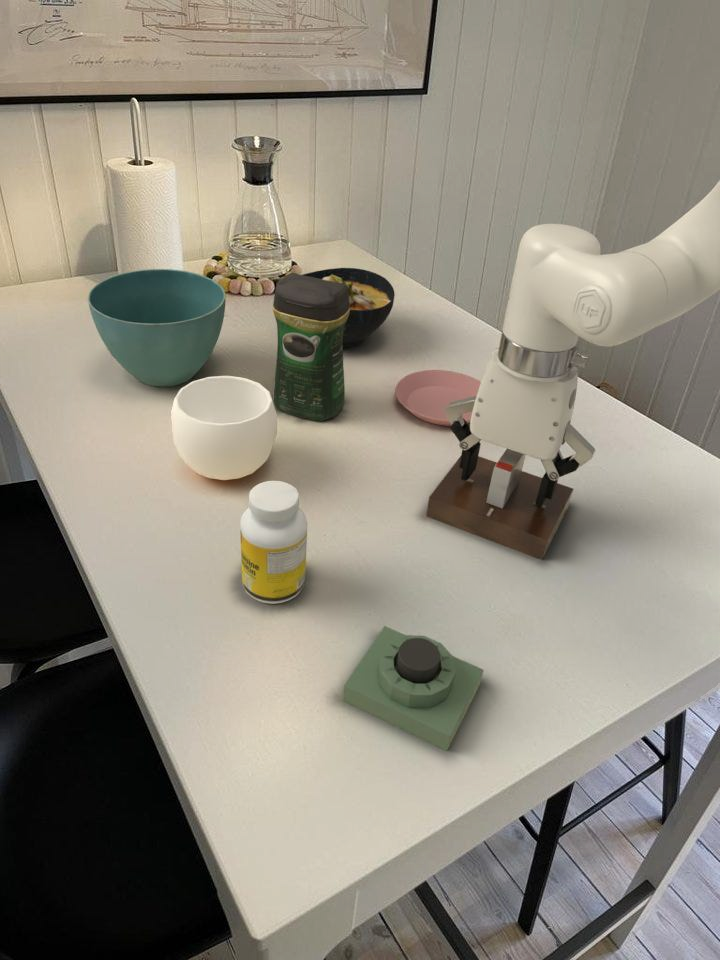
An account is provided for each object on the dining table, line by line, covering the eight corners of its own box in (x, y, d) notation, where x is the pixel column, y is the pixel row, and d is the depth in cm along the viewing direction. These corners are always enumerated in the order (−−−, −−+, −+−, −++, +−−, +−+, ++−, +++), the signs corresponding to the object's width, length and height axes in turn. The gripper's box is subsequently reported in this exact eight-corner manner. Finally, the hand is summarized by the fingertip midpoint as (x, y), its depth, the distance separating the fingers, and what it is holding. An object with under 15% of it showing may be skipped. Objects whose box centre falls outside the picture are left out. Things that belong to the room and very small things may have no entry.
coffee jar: (350, 401, 107) (360, 276, 96) (329, 428, 101) (336, 298, 90) (289, 385, 110) (291, 261, 99) (264, 410, 104) (264, 282, 93)
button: (444, 661, 66) (446, 648, 65) (427, 690, 63) (430, 677, 62) (407, 644, 67) (409, 631, 66) (389, 672, 65) (391, 659, 64)
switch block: (480, 685, 69) (487, 656, 66) (446, 752, 63) (453, 723, 61) (382, 641, 72) (386, 612, 70) (342, 701, 66) (344, 671, 64)
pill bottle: (246, 560, 80) (243, 472, 73) (307, 563, 80) (310, 476, 73) (237, 605, 74) (234, 515, 68) (303, 608, 75) (306, 519, 68)
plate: (472, 444, 101) (475, 432, 99) (377, 413, 105) (378, 401, 104) (506, 399, 111) (508, 387, 110) (417, 372, 116) (419, 360, 115)
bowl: (408, 336, 126) (415, 278, 120) (351, 374, 114) (355, 312, 108) (326, 307, 133) (328, 251, 127) (263, 340, 121) (263, 280, 115)
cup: (192, 507, 86) (187, 437, 80) (163, 450, 95) (156, 382, 89) (292, 483, 91) (293, 415, 85) (255, 431, 100) (255, 366, 94)
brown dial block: (567, 508, 91) (574, 487, 89) (541, 560, 83) (547, 539, 81) (460, 470, 96) (464, 450, 94) (425, 517, 88) (429, 495, 86)
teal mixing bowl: (245, 392, 107) (244, 312, 100) (115, 415, 100) (103, 331, 93) (206, 337, 120) (202, 263, 113) (88, 355, 113) (75, 276, 105)
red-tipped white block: (503, 476, 90) (511, 440, 87) (519, 482, 89) (528, 445, 86) (485, 502, 86) (494, 465, 83) (502, 508, 85) (511, 471, 82)
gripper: (628, 361, 76) (586, 495, 87) (469, 317, 82) (447, 448, 93) (612, 392, 71) (568, 531, 81) (443, 342, 77) (422, 478, 87)
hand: (504, 486), depth 87 cm, fingers open, 8 cm apart
